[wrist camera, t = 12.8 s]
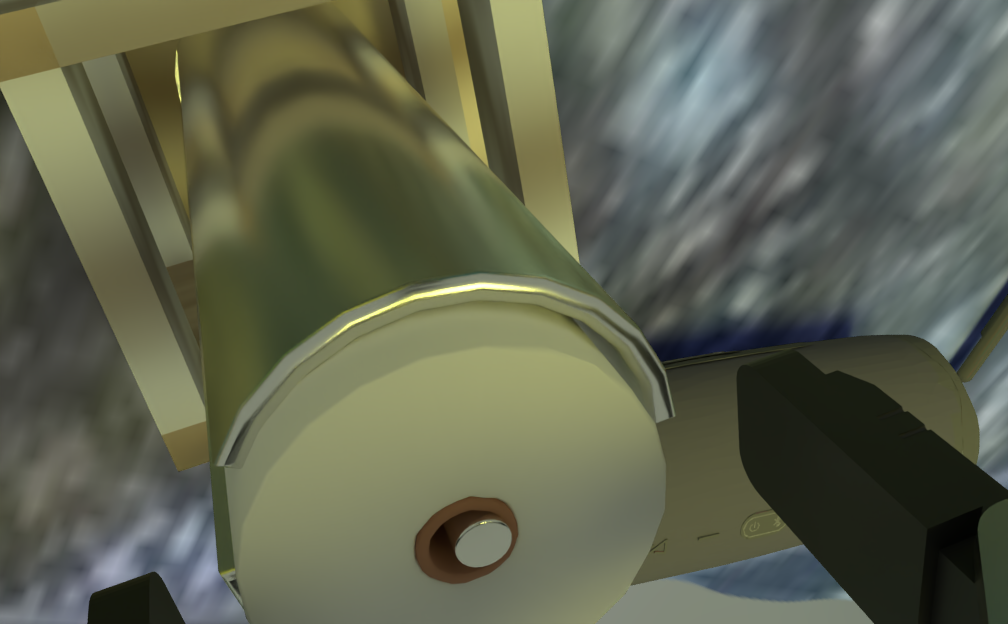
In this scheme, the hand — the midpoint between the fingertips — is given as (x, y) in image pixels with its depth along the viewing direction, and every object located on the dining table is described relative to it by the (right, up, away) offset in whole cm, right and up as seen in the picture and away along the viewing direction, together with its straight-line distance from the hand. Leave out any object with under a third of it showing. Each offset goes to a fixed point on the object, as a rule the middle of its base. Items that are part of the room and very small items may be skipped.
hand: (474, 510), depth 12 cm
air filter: (-8, +11, +20) cm, 24 cm away
